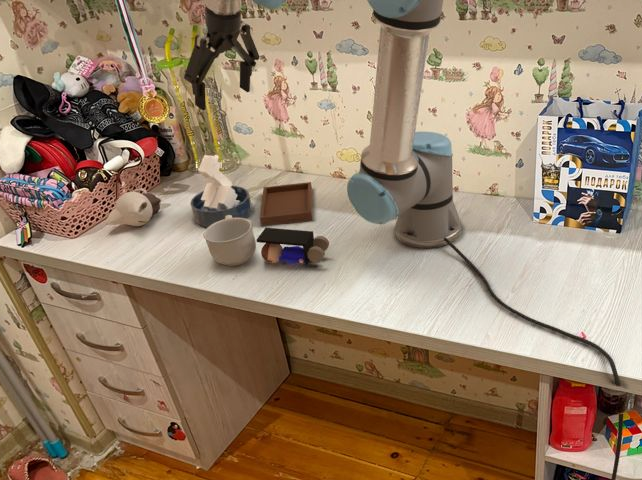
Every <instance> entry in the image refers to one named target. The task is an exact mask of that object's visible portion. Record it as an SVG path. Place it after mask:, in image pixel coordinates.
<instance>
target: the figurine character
mask: <svg viewBox="0 0 642 480" xmlns="http://www.w3.org/2000/svg"><path fill="white" fill-rule="evenodd" d="M255 242H256V243H261V244H263V245H262V247H261V250H260V251H261V257H262V259H263V260H264V261H265V262H266V263H269V264H276V263H279V262H285V263H287V264H303V265H305V266H308V267H319V265H318V264H317V263H321V262H322V261H323V260H324V258H325V256H326V254H325V252H326V251H327V250H328V248H329V247H330V240H329V239H328V238H327V237H326V236H323V235H317V236H316V237H315V235H314V231H313V230H301V229H288V228H276V227H265V228H264V229H263V230H262V231H261V233H260V234H259V235H258V236H257V238H256V239H255ZM283 245H284V247H283ZM310 262H312V263H310ZM314 263H315V264H314Z"/></svg>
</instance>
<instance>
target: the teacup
mask: <svg viewBox="0 0 642 480" xmlns="http://www.w3.org/2000/svg"><path fill="white" fill-rule="evenodd" d="M203 238H204V240H205V242H206V245H207V248H208V251H209V253H210V256H211V257H212V258H213V260H214V261H215V262H217V263H218V264H221V265H223V266H228V267H236V266H240V265H243V264H245V263H247V261H249V260H250V259H251V258H252V256H253V255H254V253H255V251H256V249H257V241H256V238H255V234H254V230H253V224H252V222H251V221H250V220H249V219H247V218H246V219H245V218H233V217H232V216H231V215H227V216H225V219H224V220H221V221H218V222H215V223H214V224H212V225H210V226H209V227H206V228H205V230H204V231H203Z"/></svg>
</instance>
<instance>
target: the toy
mask: <svg viewBox="0 0 642 480" xmlns="http://www.w3.org/2000/svg"><path fill="white" fill-rule="evenodd" d="M141 192H143V193H141ZM162 201H163V198H161V197H158V196H156V195H155V194H153V193H150V192H148V191H147V190H145V189H144V188H142V187H140V188H136V189H134V190H133V191H127V192H124V193H123V194H121V195H120V196H119V197H118V198H117V200H116V202H115V207H114V208H113V209H112V210H111V211H110V213H109V214H108V216H107V218H106V219H105V220H106V221H105V226H116V225H117V226H118V225H128V226H131V227H142V226H144V225H146V224H147V223H148V222H150V220H151V219H152V218H153V216H154V215H156V214H158V213H159V212H160V210H161V203H162Z"/></svg>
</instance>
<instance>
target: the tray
mask: <svg viewBox="0 0 642 480" xmlns="http://www.w3.org/2000/svg"><path fill="white" fill-rule="evenodd" d="M312 185H313V184H312V181H309V182H308V181H307V182H298V183H288V184H281V185H271V186H270V185H269V186H263V190H262V197H261V205H260V214H259V221H260V225H261V227H266V226H277V225H286V224H295V223H303V222H312V221H313V186H312Z"/></svg>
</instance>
